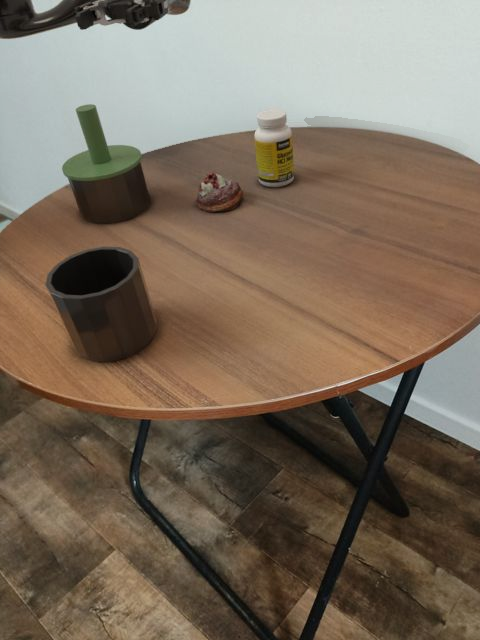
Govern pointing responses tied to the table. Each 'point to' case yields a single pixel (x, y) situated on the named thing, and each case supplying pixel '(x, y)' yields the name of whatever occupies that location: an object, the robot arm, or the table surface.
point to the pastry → (218, 193)
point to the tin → (112, 197)
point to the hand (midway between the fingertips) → (104, 20)
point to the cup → (103, 303)
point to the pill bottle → (274, 149)
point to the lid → (98, 152)
